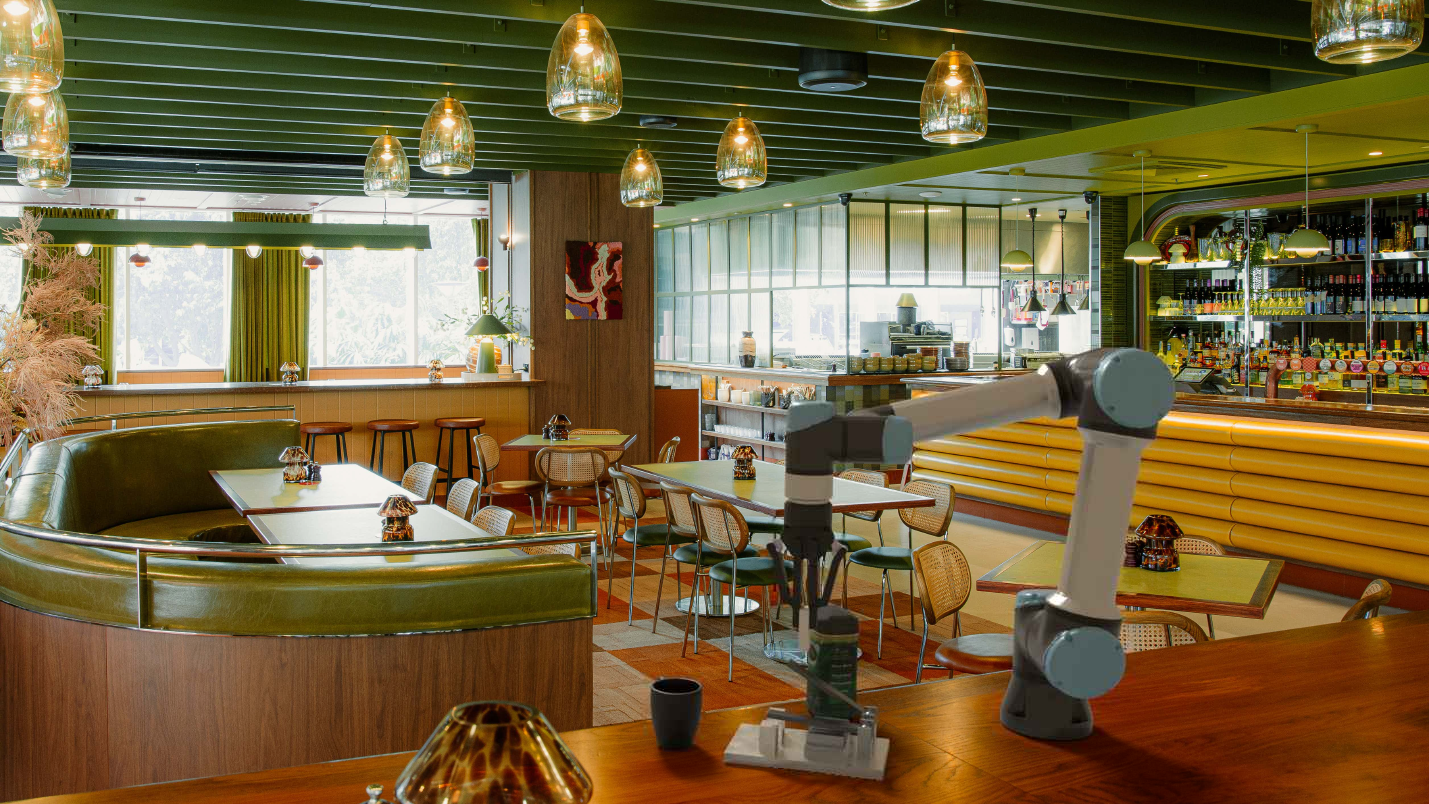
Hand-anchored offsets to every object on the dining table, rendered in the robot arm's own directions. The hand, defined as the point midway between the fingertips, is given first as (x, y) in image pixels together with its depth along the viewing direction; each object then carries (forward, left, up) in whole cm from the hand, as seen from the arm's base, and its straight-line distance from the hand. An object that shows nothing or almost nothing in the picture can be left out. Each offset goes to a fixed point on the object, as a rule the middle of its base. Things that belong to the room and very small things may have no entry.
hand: (804, 648), depth 171 cm
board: (-2, +3, -16) cm, 16 cm away
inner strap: (-4, 0, -7) cm, 8 cm away
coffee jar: (-3, -17, -16) cm, 24 cm away
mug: (+20, +3, -16) cm, 26 cm away
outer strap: (-3, +6, -10) cm, 12 cm away
